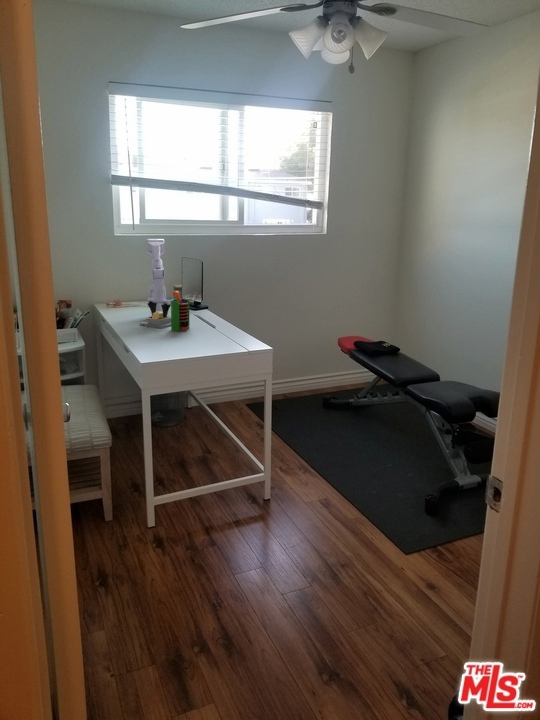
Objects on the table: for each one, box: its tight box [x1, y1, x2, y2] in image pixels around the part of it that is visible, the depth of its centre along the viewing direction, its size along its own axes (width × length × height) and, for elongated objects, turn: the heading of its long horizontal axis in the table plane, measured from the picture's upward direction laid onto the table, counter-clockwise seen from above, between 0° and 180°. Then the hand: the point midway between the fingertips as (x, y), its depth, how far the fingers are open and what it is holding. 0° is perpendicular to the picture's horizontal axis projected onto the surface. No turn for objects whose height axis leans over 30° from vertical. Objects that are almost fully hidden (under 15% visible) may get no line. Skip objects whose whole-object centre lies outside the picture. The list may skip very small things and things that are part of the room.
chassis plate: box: [139, 316, 171, 329], centre depth 293 cm, size 14×15×4 cm
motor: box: [170, 290, 190, 333], centre depth 279 cm, size 10×9×20 cm
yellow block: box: [150, 311, 169, 320], centre depth 292 cm, size 9×4×6 cm, turn 150°
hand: (159, 316), depth 292 cm, fingers open, 7 cm apart
